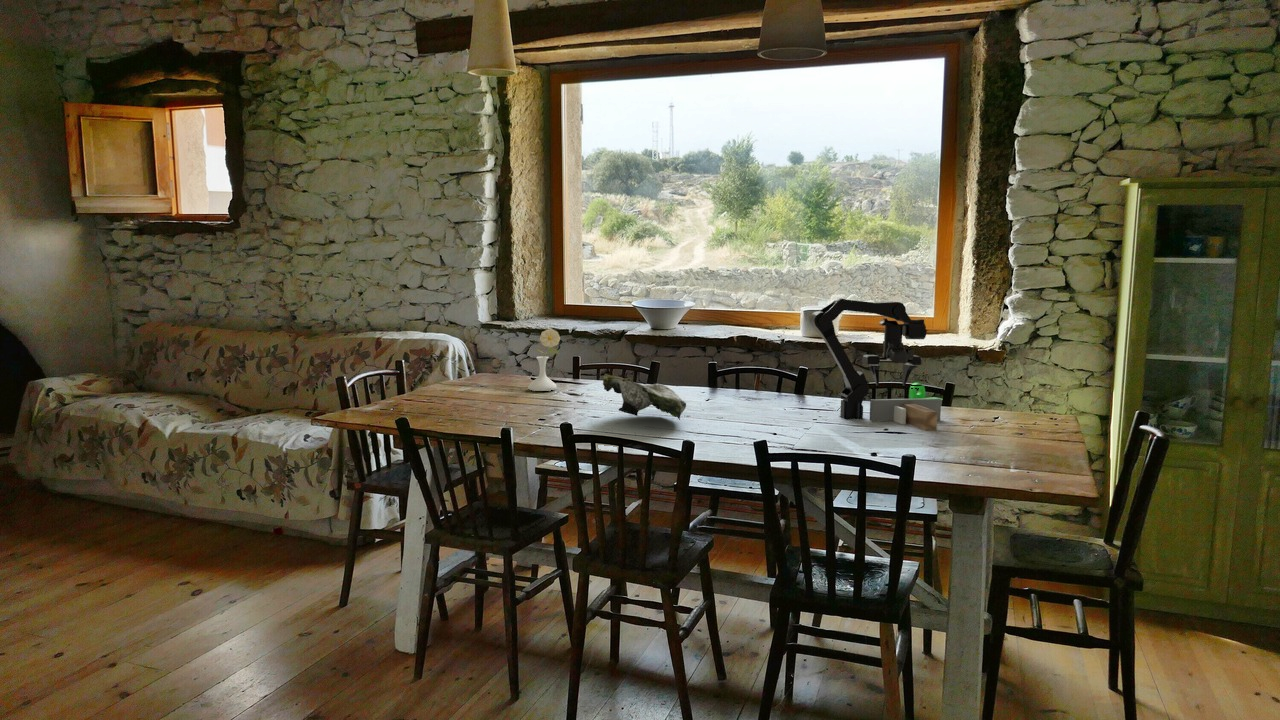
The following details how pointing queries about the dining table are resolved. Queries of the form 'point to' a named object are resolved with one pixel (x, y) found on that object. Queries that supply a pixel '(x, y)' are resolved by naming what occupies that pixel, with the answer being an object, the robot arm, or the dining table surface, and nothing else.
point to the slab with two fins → (899, 408)
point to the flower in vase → (542, 381)
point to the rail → (920, 417)
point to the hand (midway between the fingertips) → (890, 385)
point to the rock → (644, 396)
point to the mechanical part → (920, 392)
